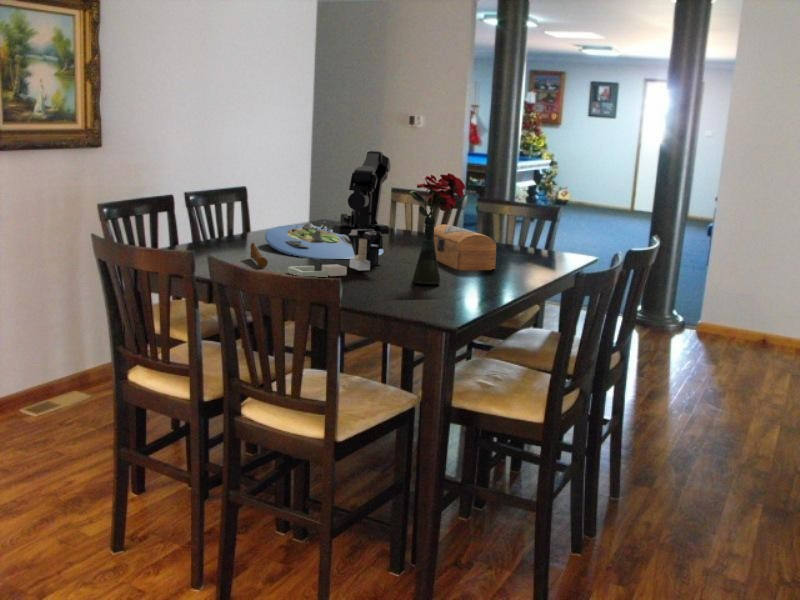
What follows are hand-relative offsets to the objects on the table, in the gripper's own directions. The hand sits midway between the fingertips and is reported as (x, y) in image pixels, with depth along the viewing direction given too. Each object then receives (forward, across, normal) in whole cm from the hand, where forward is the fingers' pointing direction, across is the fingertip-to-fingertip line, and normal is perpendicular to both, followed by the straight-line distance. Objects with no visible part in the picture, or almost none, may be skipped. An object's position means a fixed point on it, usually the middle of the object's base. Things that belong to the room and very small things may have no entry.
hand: (360, 255), depth 272 cm
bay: (+6, +19, 0) cm, 20 cm away
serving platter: (+8, -8, -46) cm, 47 cm away
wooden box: (+7, -46, -8) cm, 47 cm away
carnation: (+6, -16, +19) cm, 26 cm away
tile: (+6, +10, 0) cm, 12 cm away
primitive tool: (+8, +26, -26) cm, 38 cm away
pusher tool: (+5, 0, 0) cm, 5 cm away
